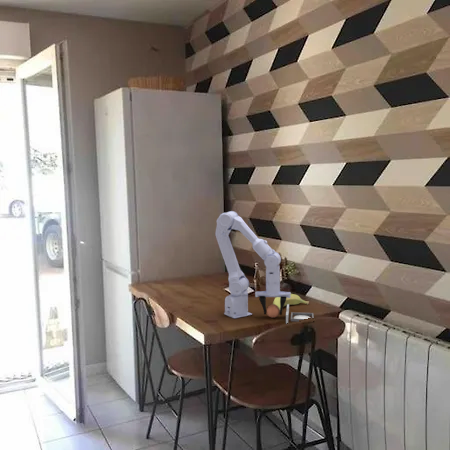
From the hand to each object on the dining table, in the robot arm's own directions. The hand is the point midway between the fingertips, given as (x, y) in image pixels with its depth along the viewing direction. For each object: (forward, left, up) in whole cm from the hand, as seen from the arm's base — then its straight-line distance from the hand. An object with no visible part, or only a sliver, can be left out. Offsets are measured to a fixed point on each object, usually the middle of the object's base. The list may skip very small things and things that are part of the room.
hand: (272, 314), depth 203 cm
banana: (+16, +7, -2) cm, 18 cm away
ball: (0, 0, +1) cm, 1 cm away
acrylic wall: (+4, -4, -1) cm, 6 cm away
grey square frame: (+9, -8, -1) cm, 12 cm away
